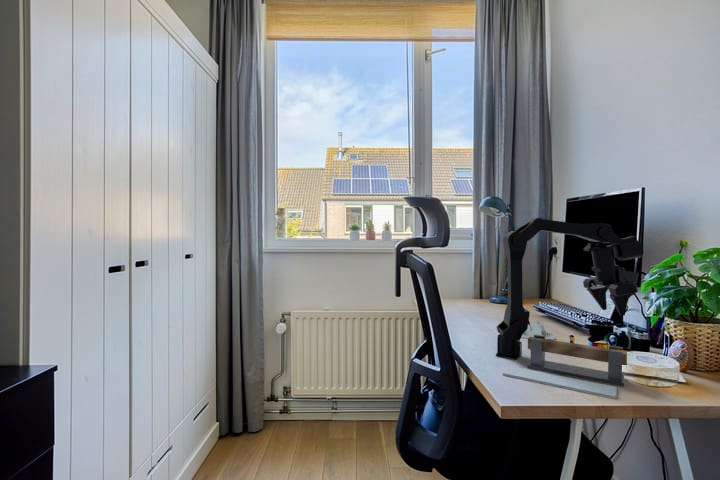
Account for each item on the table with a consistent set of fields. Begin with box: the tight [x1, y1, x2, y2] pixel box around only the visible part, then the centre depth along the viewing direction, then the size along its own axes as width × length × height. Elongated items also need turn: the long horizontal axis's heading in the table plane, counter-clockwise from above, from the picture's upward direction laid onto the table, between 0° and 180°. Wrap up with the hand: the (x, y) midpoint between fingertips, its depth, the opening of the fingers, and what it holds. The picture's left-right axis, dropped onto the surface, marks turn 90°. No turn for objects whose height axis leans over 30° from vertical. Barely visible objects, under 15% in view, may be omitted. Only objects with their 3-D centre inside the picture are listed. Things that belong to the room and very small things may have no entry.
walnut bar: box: [527, 337, 628, 366], centre depth 107 cm, size 24×3×3 cm, turn 55°
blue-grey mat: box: [502, 365, 618, 400], centre depth 101 cm, size 26×7×1 cm, turn 55°
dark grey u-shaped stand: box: [527, 335, 625, 387], centre depth 107 cm, size 23×7×8 cm, turn 55°
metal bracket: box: [521, 320, 557, 341], centre depth 148 cm, size 14×6×15 cm
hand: (613, 312), depth 118 cm, fingers open, 9 cm apart
